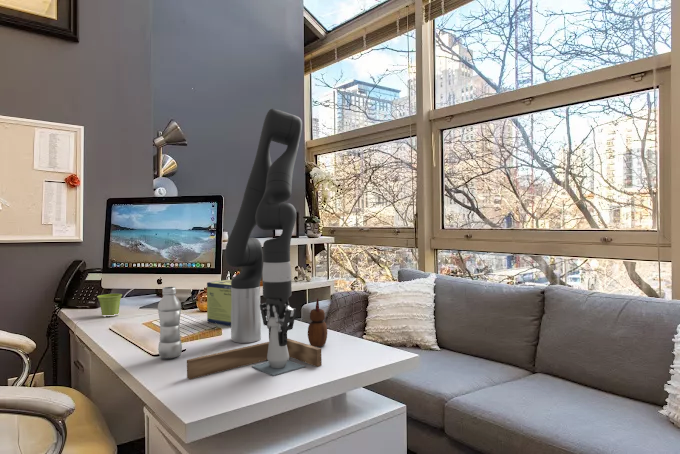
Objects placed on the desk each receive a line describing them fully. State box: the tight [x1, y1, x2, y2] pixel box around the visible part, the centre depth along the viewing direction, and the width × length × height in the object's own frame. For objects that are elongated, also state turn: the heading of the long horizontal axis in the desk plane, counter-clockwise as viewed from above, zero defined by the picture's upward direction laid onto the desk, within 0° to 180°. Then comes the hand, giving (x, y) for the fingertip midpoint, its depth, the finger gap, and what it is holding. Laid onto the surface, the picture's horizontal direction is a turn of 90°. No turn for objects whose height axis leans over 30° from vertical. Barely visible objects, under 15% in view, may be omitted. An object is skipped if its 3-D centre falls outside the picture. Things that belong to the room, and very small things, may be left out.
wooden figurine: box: [307, 298, 328, 348], centre depth 142 cm, size 7×6×15 cm
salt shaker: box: [266, 317, 290, 368], centre depth 121 cm, size 6×6×13 cm
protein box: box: [206, 279, 232, 327], centre depth 178 cm, size 10×16×16 cm
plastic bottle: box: [157, 286, 183, 359], centre depth 131 cm, size 6×7×20 cm
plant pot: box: [96, 293, 123, 316], centre depth 192 cm, size 9×9×9 cm
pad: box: [251, 359, 306, 377], centre depth 121 cm, size 10×10×1 cm
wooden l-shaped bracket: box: [186, 337, 323, 380], centre depth 118 cm, size 16×30×4 cm, turn 132°
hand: (277, 343), depth 121 cm, fingers open, 3 cm apart
